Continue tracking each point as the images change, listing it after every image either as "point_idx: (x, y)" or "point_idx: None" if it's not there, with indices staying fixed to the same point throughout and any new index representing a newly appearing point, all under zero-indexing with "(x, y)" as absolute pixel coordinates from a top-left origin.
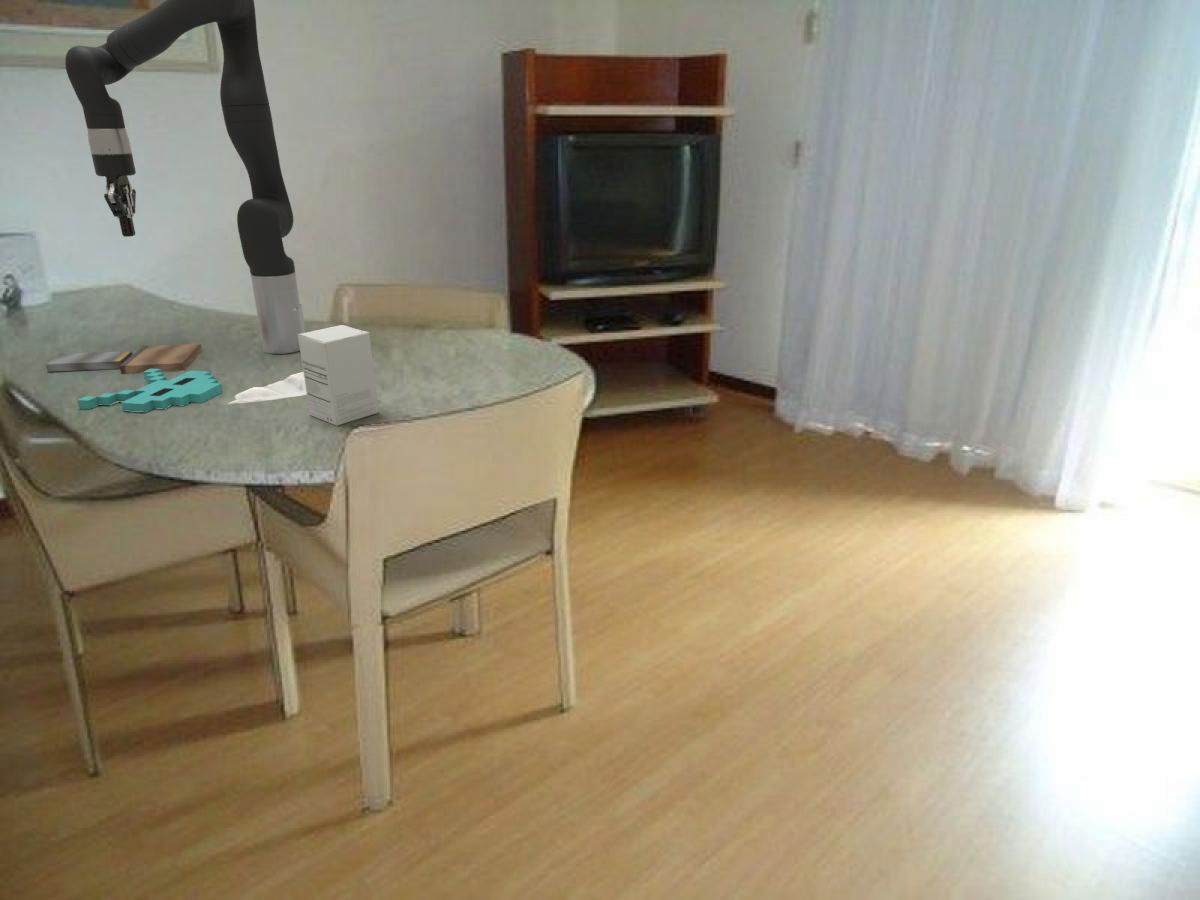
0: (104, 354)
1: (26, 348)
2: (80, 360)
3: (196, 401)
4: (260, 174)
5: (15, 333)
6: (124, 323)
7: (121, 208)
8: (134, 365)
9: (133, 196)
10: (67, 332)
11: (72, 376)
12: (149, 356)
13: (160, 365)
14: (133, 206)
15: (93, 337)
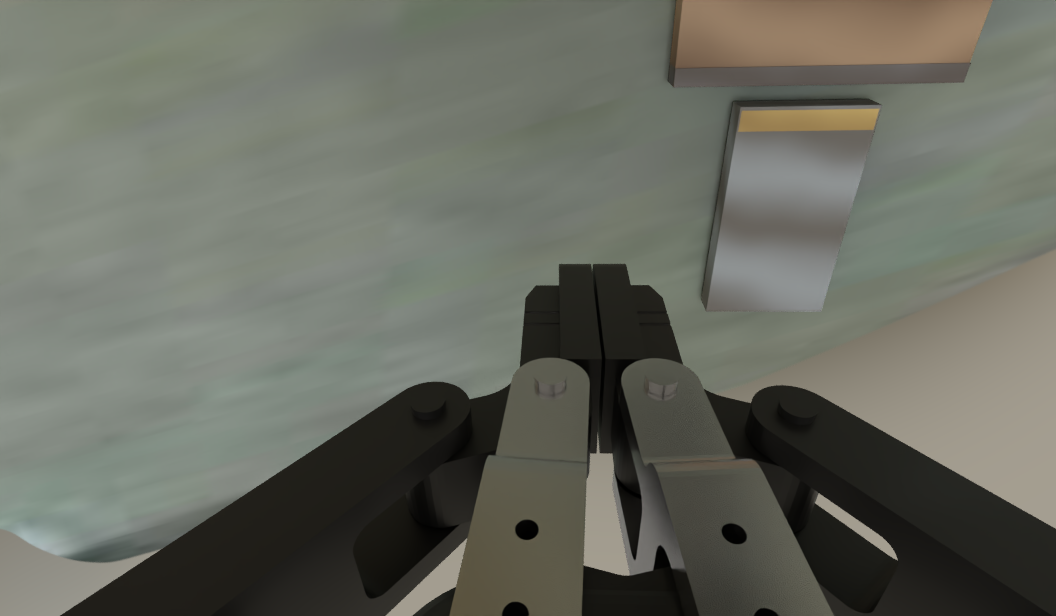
0: (757, 187)
1: None
2: (813, 235)
3: None
4: None
5: None
6: (216, 283)
7: (967, 493)
8: (982, 26)
9: (229, 598)
10: (339, 391)
11: (878, 225)
12: (860, 7)
13: None
14: (403, 455)
15: (402, 313)
